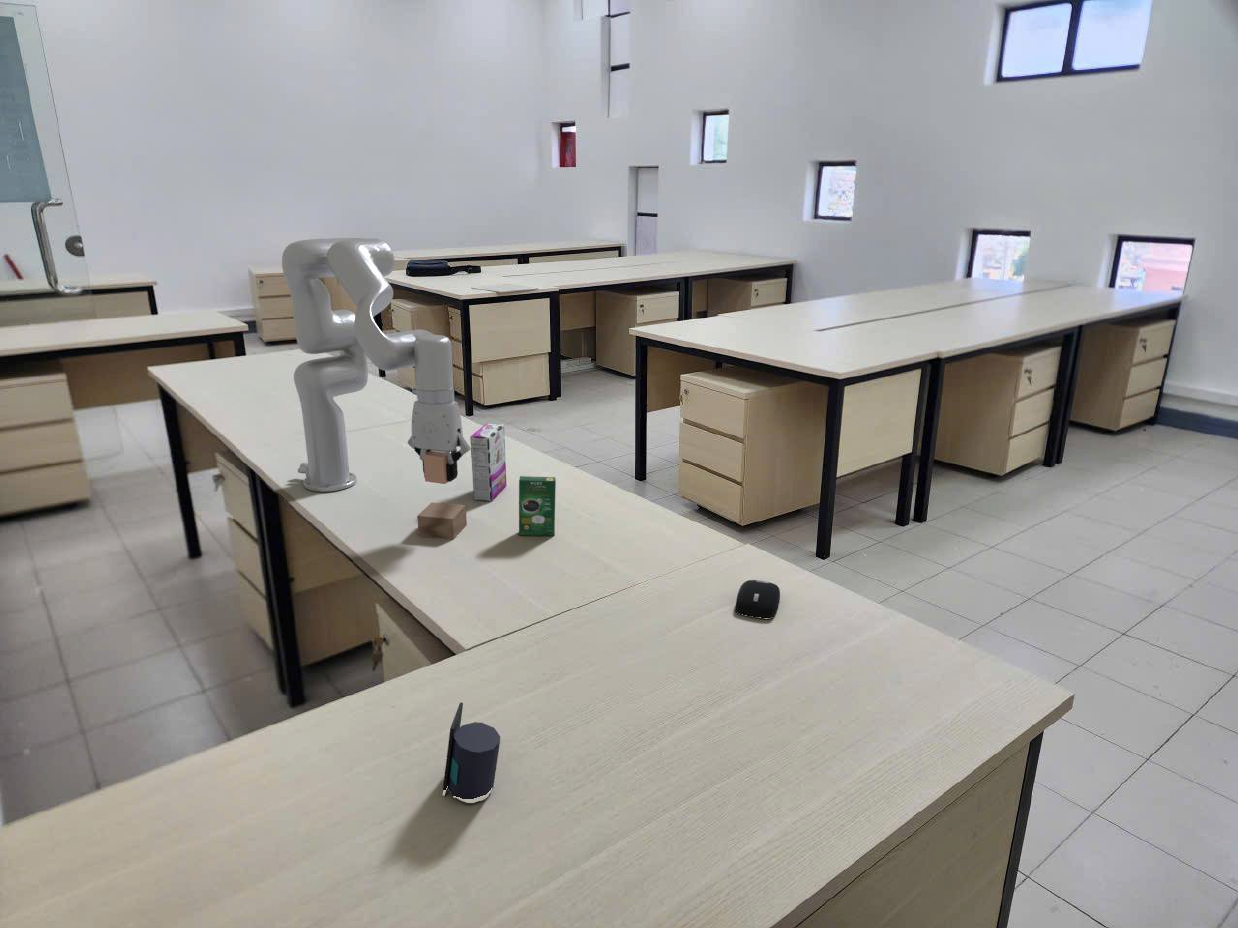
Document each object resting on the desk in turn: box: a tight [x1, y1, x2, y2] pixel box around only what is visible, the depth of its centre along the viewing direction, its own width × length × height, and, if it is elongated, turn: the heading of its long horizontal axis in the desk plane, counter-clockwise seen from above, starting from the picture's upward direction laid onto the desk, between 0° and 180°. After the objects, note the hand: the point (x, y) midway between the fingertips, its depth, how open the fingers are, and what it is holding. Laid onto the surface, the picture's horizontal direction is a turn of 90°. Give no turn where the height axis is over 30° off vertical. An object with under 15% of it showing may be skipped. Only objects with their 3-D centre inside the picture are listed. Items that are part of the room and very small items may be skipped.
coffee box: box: [518, 475, 557, 537], centre depth 177 cm, size 8×3×13 cm, turn 92°
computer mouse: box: [735, 579, 781, 619], centre depth 151 cm, size 8×12×4 cm, turn 161°
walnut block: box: [416, 501, 468, 540], centre depth 179 cm, size 8×8×5 cm
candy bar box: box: [470, 422, 507, 502], centre depth 199 cm, size 11×5×16 cm, turn 168°
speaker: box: [442, 702, 501, 799], centre depth 103 cm, size 8×6×10 cm
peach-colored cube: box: [423, 450, 449, 485], centre depth 175 cm, size 5×5×6 cm
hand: (440, 477), depth 176 cm, fingers closed on peach-colored cube, 4 cm apart
